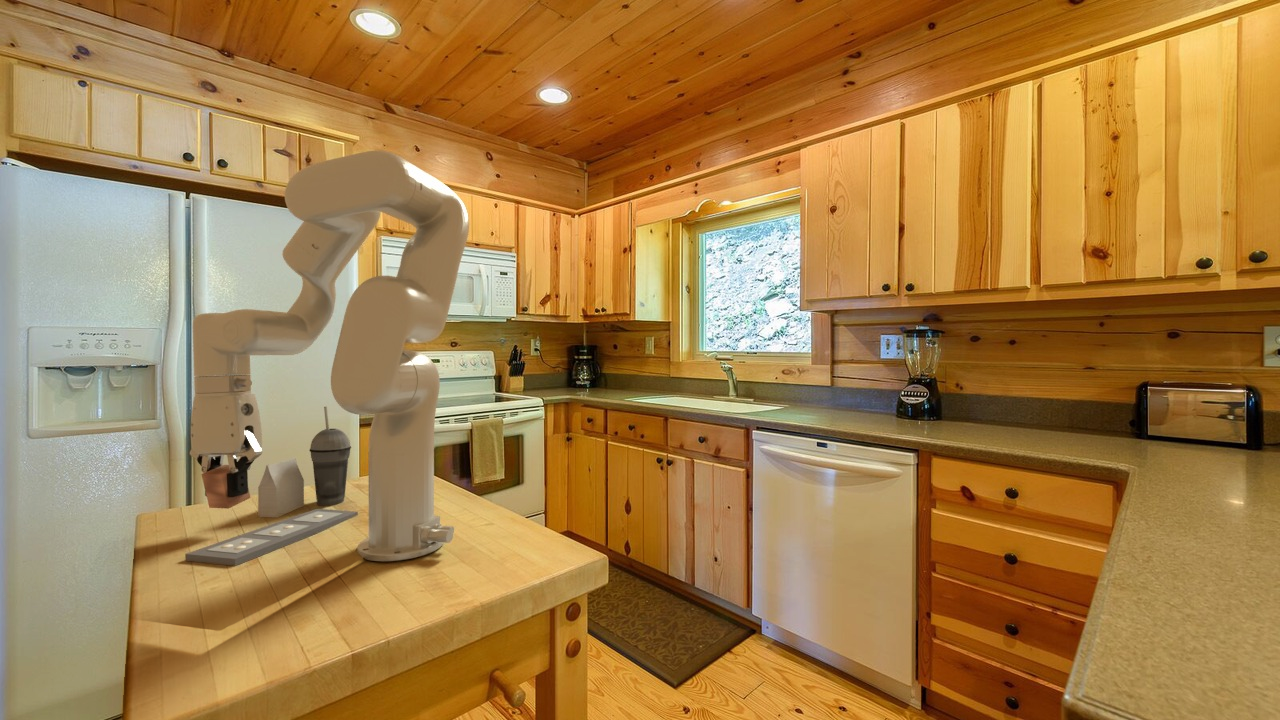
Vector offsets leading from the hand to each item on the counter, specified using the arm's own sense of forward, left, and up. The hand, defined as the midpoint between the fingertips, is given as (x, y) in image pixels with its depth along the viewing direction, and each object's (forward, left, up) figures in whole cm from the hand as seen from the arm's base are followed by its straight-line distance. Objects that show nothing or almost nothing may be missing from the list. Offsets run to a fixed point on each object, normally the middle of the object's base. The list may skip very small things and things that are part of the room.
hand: (226, 493), depth 91 cm
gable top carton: (+1, -11, -7) cm, 13 cm away
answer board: (-10, -1, -7) cm, 12 cm away
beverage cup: (-4, -18, -7) cm, 20 cm away
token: (0, 0, -2) cm, 2 cm away
